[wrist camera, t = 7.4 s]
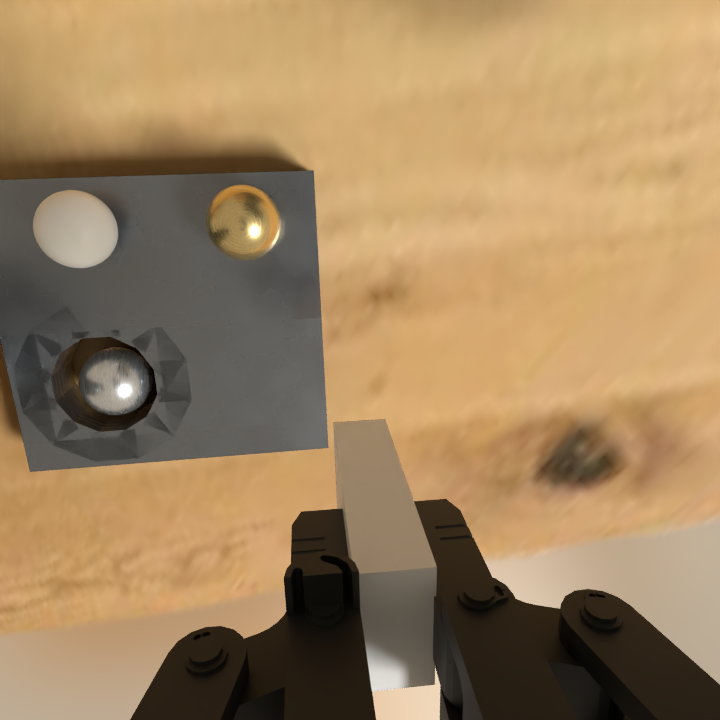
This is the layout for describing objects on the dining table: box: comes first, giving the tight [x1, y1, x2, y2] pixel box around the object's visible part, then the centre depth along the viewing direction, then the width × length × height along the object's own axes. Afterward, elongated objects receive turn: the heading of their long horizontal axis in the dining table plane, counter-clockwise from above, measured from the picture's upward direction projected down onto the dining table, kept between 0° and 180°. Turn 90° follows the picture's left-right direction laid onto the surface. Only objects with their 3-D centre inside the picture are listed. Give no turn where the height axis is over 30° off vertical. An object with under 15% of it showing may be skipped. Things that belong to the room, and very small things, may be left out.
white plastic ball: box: [33, 190, 118, 268], centre depth 22 cm, size 3×3×3 cm
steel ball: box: [79, 347, 153, 415], centre depth 26 cm, size 3×3×3 cm
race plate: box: [0, 171, 328, 472], centre depth 26 cm, size 13×14×2 cm
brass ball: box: [206, 185, 281, 261], centre depth 23 cm, size 3×3×3 cm
